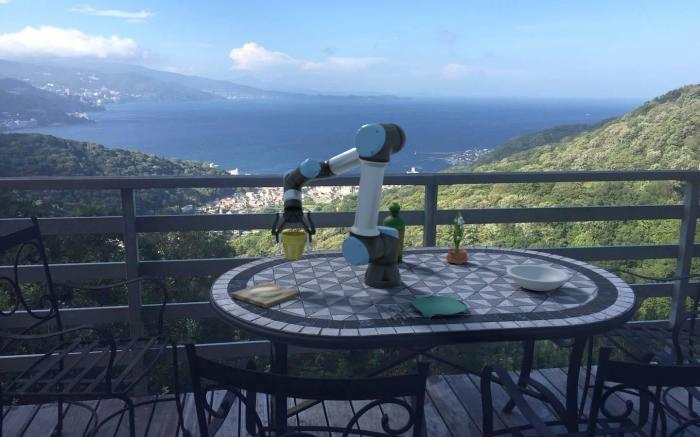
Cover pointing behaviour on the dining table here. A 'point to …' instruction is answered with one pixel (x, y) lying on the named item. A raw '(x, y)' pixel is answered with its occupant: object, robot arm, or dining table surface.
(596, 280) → the dining table surface
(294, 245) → the plant pot
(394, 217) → the bottle
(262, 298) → the trivet board
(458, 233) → the potted flower
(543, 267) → the soup bowl
